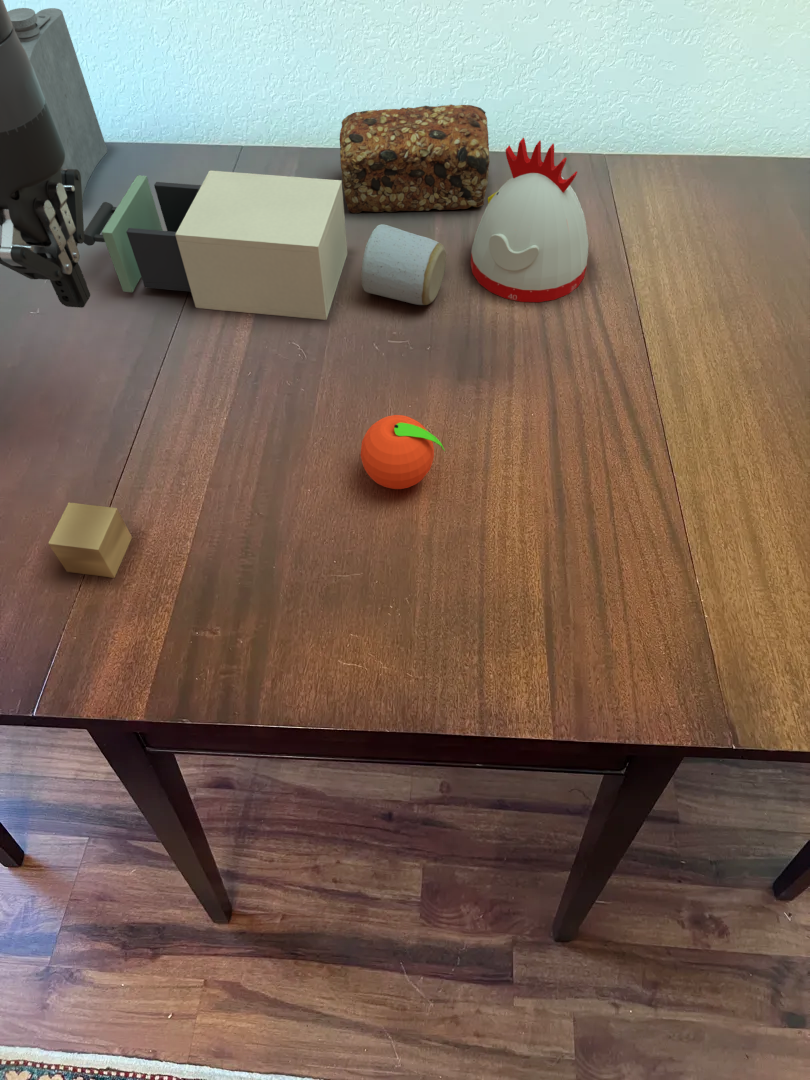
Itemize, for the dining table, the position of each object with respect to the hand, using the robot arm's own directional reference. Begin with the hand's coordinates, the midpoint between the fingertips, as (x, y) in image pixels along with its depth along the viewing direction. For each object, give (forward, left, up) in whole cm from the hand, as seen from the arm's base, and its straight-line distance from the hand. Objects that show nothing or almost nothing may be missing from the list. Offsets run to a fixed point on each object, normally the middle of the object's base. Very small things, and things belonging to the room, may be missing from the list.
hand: (77, 302), depth 71 cm
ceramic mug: (+27, +24, -14) cm, 38 cm away
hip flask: (-21, +41, -14) cm, 48 cm away
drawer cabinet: (+11, +23, -13) cm, 28 cm away
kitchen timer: (+41, +30, -14) cm, 52 cm away
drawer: (-1, +23, -13) cm, 26 cm away
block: (+5, -18, -13) cm, 23 cm away
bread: (+25, +44, -14) cm, 52 cm away
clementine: (+31, -5, -14) cm, 34 cm away
